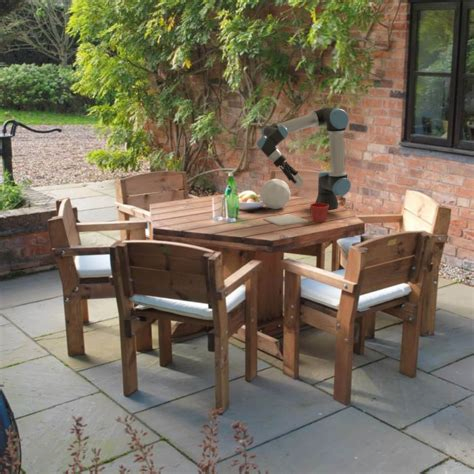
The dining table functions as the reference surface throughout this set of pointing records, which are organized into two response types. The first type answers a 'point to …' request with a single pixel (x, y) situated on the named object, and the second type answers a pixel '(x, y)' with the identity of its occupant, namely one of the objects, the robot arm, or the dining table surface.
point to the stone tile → (285, 220)
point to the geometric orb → (275, 193)
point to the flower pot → (319, 212)
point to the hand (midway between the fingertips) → (301, 184)
